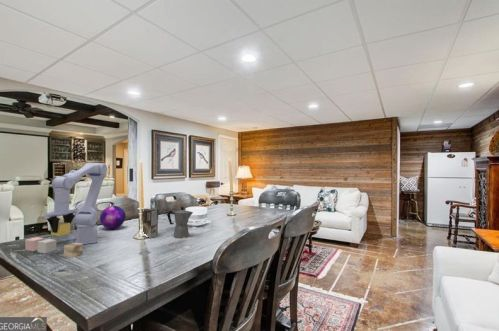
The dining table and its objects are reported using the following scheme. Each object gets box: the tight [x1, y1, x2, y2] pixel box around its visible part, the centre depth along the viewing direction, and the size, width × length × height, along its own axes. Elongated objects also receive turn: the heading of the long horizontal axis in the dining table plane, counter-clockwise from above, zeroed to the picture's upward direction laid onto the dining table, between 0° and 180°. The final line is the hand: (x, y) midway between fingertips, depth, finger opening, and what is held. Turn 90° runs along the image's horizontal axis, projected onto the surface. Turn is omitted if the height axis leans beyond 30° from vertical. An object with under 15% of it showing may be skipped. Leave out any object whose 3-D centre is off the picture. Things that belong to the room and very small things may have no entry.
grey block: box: [36, 238, 57, 254], centre depth 120 cm, size 5×5×5 cm
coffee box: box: [138, 208, 159, 239], centre depth 151 cm, size 9×6×16 cm
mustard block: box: [50, 221, 71, 237], centre depth 118 cm, size 5×5×5 cm
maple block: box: [63, 242, 84, 259], centre depth 116 cm, size 5×5×5 cm
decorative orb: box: [99, 205, 127, 230], centre depth 166 cm, size 15×15×15 cm
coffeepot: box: [166, 206, 194, 239], centre depth 153 cm, size 15×9×18 cm, turn 103°
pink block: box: [24, 236, 45, 252], centre depth 122 cm, size 5×5×5 cm
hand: (60, 231), depth 118 cm, fingers closed on mustard block, 5 cm apart
